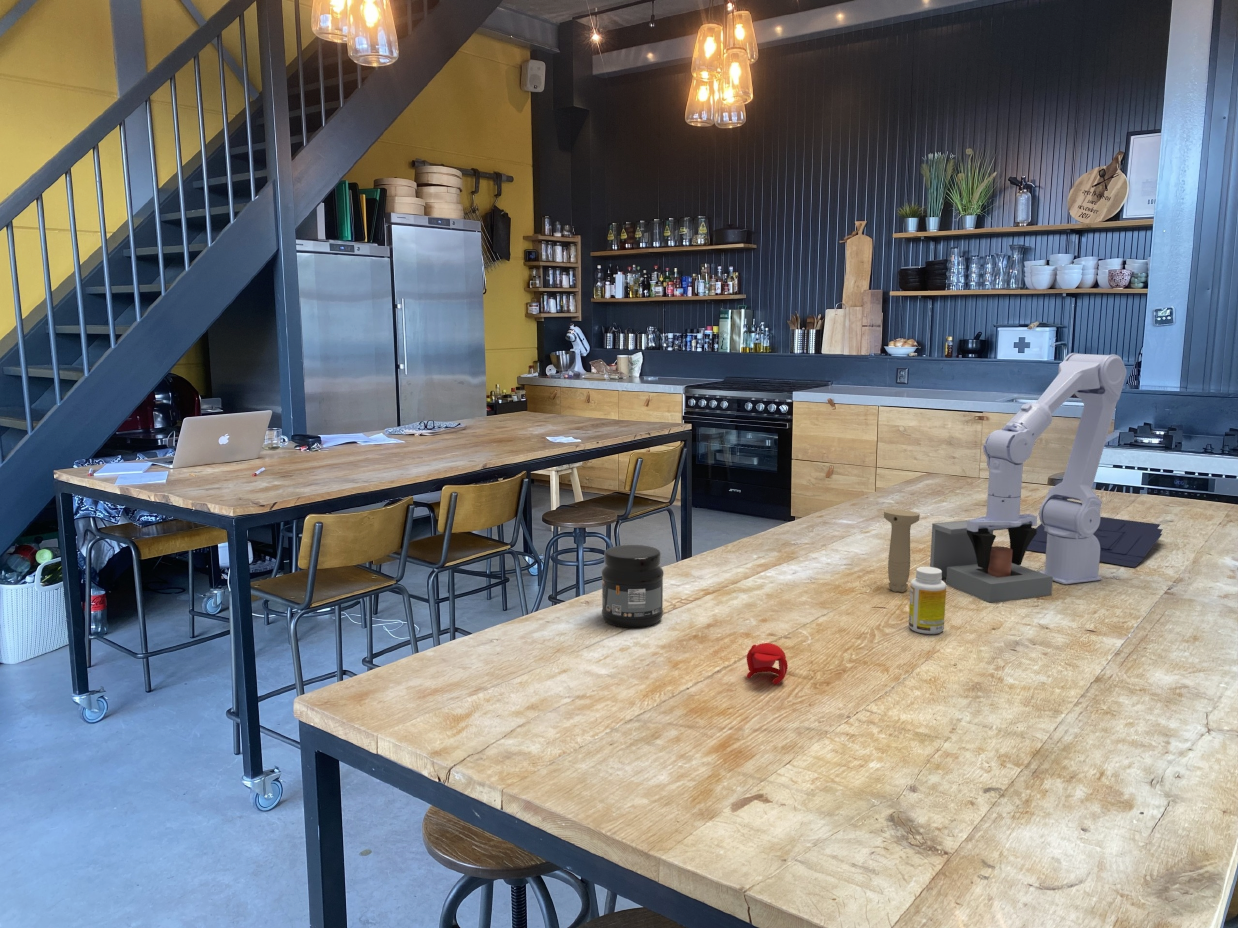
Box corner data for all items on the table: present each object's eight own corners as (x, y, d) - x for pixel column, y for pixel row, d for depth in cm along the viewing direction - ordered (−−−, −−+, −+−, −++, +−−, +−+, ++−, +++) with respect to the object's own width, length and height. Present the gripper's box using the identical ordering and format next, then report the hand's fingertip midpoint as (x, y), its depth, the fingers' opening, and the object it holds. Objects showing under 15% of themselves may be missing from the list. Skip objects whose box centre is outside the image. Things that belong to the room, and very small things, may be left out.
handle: (907, 596, 168) (911, 517, 166) (876, 589, 173) (879, 512, 170) (919, 590, 172) (923, 513, 169) (888, 584, 176) (891, 508, 174)
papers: (1169, 537, 208) (1170, 521, 208) (1135, 580, 187) (1136, 563, 186) (1056, 521, 224) (1057, 507, 224) (1013, 559, 203) (1013, 544, 202)
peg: (998, 585, 175) (1001, 545, 174) (1014, 591, 171) (1017, 550, 170) (982, 588, 173) (984, 547, 172) (997, 594, 170) (1000, 552, 168)
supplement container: (632, 605, 163) (632, 540, 161) (676, 619, 156) (676, 551, 154) (589, 619, 156) (588, 551, 154) (632, 634, 149) (632, 563, 147)
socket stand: (986, 571, 185) (990, 518, 183) (1051, 594, 169) (1055, 537, 167) (929, 577, 180) (932, 523, 179) (990, 602, 165) (994, 543, 163)
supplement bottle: (951, 632, 149) (954, 571, 148) (925, 637, 147) (929, 576, 145) (926, 622, 154) (929, 563, 153) (901, 626, 152) (904, 567, 150)
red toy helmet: (743, 669, 134) (744, 633, 133) (781, 670, 134) (782, 634, 133) (749, 690, 127) (750, 652, 126) (789, 690, 126) (790, 652, 125)
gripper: (987, 501, 163) (982, 574, 166) (1051, 496, 168) (1046, 567, 170) (960, 494, 170) (956, 564, 172) (1023, 489, 175) (1018, 558, 177)
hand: (999, 565), depth 172 cm, fingers open, 7 cm apart
